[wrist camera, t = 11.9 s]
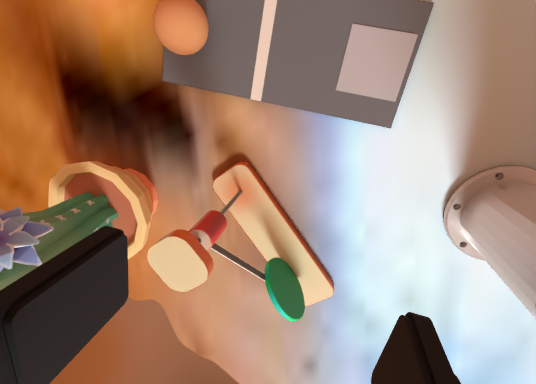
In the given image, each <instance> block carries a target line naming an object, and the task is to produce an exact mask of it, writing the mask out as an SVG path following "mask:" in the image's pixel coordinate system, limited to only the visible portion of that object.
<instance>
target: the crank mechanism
mask: <svg viewBox="0 0 536 384" xmlns="http://www.w3.org/2000/svg"><path fill="white" fill-rule="evenodd" d="M213 189H214V191H215V193H216V194H217V195H218V197H219V198H220V199H221V201H222V202H223V203H224V205H225V207H224V208H223V210H222V211H221V212H218V211H215V210H214V211H209V212H207V213H206V214H205V215H204V216H203V217H202V218H201V219H200V220H199V221H198V222H197V223H196V224H195V225H194V226H193V227H192V229H191V230H190V231H189V232H188V231H186V230H175V231H172V232H171V233H169V234H168V235H166V236H164V237H163V238H161V239H160V240H159V241H158V242H157V243H156V244H154V245H153V246H152V247H151V248H150V249H149V251H148V261H149V264H150V265H151V267H152V268H153V269H154V270H155V272H156V273H157V274H158V275H159V276H160V278H161V279H162V280H163V281H164V282H165V283H166V284H167V285H168V286H169V287H170V288H172V289H173V290H176V291H179V292H185V291H189V290H191V289H193V288H195V287H197V286H199V285H201V284H202V283H204V282H205V281H206V279H207V278H208V276H209V275H210V273H211V271H212V269H213V260H212V258H211V256H210V255H209V253H208V252H207V251H208V250H209V249H210V248H211V249H212V250H214V251H216V252H217V253H219V254H221V255H222V256H224V257H226V258H227V259H229V260H231V261H232V262H234V263H236V264H237V265H239V266H240V267H242V268H244V269H245V270H247V271H249V272H250V273H252V274H254V275H255V276H257V277H259V278H260V279H262V280H264V281H265V283H266V287H267V291H268V293H269V296H270V298H271V301H272V303H273V304H274V306H275V308H276V309H277V311H278V312H279V313H280V314H281V315H282V316H283V317H284V318H285V319H287V320H289V321H297V320H299V319H301V318H302V316H303V314H304V309H305V306H308V305H311V304H314V303H317V302H319V301H322V300H324V299H327V298H329V297H331V296H332V295H333V293H334V283H333V281H332V280H331V278H330V277H329V276H328V274H327V273H326V271H325V270H324V268H323V267H322V266H321V264H320V263H319V261H318V260H317V258H316V257H315V256H314V254H313V253H312V251H311V250H310V249H309V247H308V246H307V244H306V243H305V241H304V240H303V239H302V237H301V236H300V234H299V233H298V231H297V230H296V229H295V227H294V226H293V224H292V223H291V221H290V220H289V219H288V217H287V216H286V214H285V213H284V211H283V210H282V209H281V207H280V206H279V204H278V203H277V202H276V200H275V199H274V197H273V196H272V194H271V193H270V192H269V190H268V189H267V187H266V186H265V184H264V183H263V182H262V180H261V179H260V177H259V176H258V174H257V173H256V172H255V170H254V169H253V167H252V166H251V165H250V164H249V163H247V162H239V163H237V164H235V165H234V166H232V167H231V168H229V169H228V170H226V171H225V172H223V173H222V174H220V175H219V176H218V177H217V178H216V179H215V180H214V181H213ZM228 210H229V211H230V213H231V214H232V215H233V217H234V218H235V219H236V221H237V222H238V223H239V225H240V226H241V227H242V229H243V230H244V231H245V233H246V234H247V235H248V237H249V238H250V240H251V241H252V242H253V244H254V245H255V246H256V248H257V249H258V250H259V252H260V253H261V254H262V256H263V257H264V258H265V260H266V261H267V264H266V267H265V275H264V274H263V273H261V272H260V271H258V270H256V269H255V268H253V267H252V266H250V265H248V264H247V263H245V262H244V261H242V260H240V259H239V258H237V257H236V256H234V255H233V254H231V253H229V252H228V251H226V250H225V249H223V248H221V247H220V246H218V245H217V244H215V242H216V240H217V239H218V238H219V236H220V235H221V233H222V232H223V231H224V229H225V228H226V225H227V222H226V218H225V217H224V214H225V213H226V212H227V211H228Z"/></svg>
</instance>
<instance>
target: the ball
mask: <svg viewBox="0 0 536 384" xmlns="http://www.w3.org/2000/svg"><path fill="white" fill-rule="evenodd" d="M153 24H154V29H155V32H156V35H157V37H158V38H159V40H160V42H161V43H162V44H163V45H164V46H165V47H166V48H167V49H168V50H170V51H172V52H174V53H176V54H179V55H190V54H194V53H196V52H198V51H199V50H200V49H201V48H202V47H203V46H204V44H205V43H206V40H207V37H208V32H209V26H208V20H207V17H206V14H205V12H204V10H203V9H202V7H201V6H200V5H199V4H198V3H197V2H196V1H195V0H161V1H160V2H159V3H158V4H157V6H156V8H155V11H154V16H153Z"/></svg>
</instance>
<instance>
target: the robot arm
mask: <svg viewBox="0 0 536 384" xmlns="http://www.w3.org/2000/svg"><path fill="white" fill-rule="evenodd" d="M496 174H497V175H496ZM495 175H496V176H495ZM454 204H456V205H454ZM453 205H454V206H453ZM444 226H445V230H446V232H447V235H448V237H449V238H450V239H451V241H452V242H453V244H454V245H455V246H456V247H457V248H458V249H459V250H461V251H462V252H464V253H465V254H467V255H469V256H471V257H474V258H477V259H480V260H484V261H486V262H487V263H488V264H489V265H490V267H491V268H492V269H493V270H494V271H495V272H496V274H497V275H498V276H499V277H500V278H501V279H502V280H503V282H504V283H505V284H506V285H507V286H508V287H509V289H510V290H511V291H512V292H513V293H514V294H515V295H516V297H517V298H518V299H519V300H520V301H521V302H522V304H523V305H524V306H525V307H526V308H527V309H528V310H529V312H530V313H531V314H532V315H533V316H534V317H535V319H536V170H534V169H531V168H527V167H522V166H504V167H496V168H493V169H489V170H486V171H483V172H481V173H479V174H476V175H474V176H473V177H471V178H470V179H468V180H467V181H465V182H464V183H463V184H462V185H461V186H459V187H458V188H457V189H456V191H455V192H454V193H453V194H452V196H451V197H450V199H449V201H448V203H447V205H446V208H445V212H444ZM127 298H128V242H127V236H126V235H124V232H123V230H121V229H117V228H114V227H110V226H103V227H101V228H100V229H98V230H96V231H95V232H93V233H92V234H90V235H88V236H87V237H85V238H84V239H82V240H80V241H79V242H77V243H76V244H74V245H72V246H71V247H69V248H68V249H66V250H64V251H63V252H61V253H60V254H58V255H56V256H55V257H53V258H51V259H50V260H48V261H47V262H45V263H43V264H42V265H40V266H39V267H37V268H35V269H34V270H32V271H31V272H29V273H27V274H26V275H24V276H23V277H21V278H19V279H18V280H16V281H15V282H13V283H11V284H10V285H8V286H7V287H5V288H3V289H2V290H0V384H49V383H50V382H51V381H52V380H53V379H54V378H55V377H56V376H57V375H58V374H59V373H60V372H61V371H62V369H64V368H65V366H66V365H67V364H68V363H69V362H70V361H71V360H72V359H73V358H74V357H75V356H76V355H77V354H78V353H79V352H80V350H82V348H83V347H84V346H85V345H86V344H87V343H88V342H89V341H90V340H91V339H92V338H93V337H94V336H95V335H96V334H97V333H98V331H99V330H100V329H101V328H102V327H103V326H104V325H105V324H106V323H107V322H108V321H109V320H110V319H111V318H112V317H113V316H114V314H115V313H116V312H117V311H118V310H119V309H120V308H121V307H122V306H123V305H124V303H125V302H126V300H127ZM371 384H461V383H460V381H459V379H458V378H457V376H456V375H455V374H454V373H453V371H452V368H451V366H450V363H449V361H448V359H447V356H446V354H445V352H444V349H443V347H442V344H441V342H440V340H439V337H438V335H437V333H436V330H435V328H434V325H433V323H432V321H431V319H430V318H428V317H425V316H422V315H418V314H415V313H411V312H408V313H407V314H406V315H405V316H404V315H401V316H400V317H399V318H398V320H397V322H396V325H395V327H394V329H393V331H392V333H391V335H390V337H389V339H388V341H387V343H386V345H385V347H384V350H383V352H382V354H381V356H380V358H379V360H378V362H377V364H376V366H375V368H374V370H373V373H372V378H371Z"/></svg>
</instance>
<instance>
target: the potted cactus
mask: <svg viewBox="0 0 536 384" xmlns="http://www.w3.org/2000/svg"><path fill="white" fill-rule="evenodd" d="M157 204H158V196H157V193H156V190H155V187H154V185H153V184H152V183H151V181H150V180H149V179H148V178H147V177H146V176H145V175H144V174H142V173H140V172H138V171H136V170H133V169H131V168H129V169H120V168H118V167H116V166H108V165H105V164H103V163H101V162H99V161H87V162H80V163H72V164H65V165H63V166H62V167H61V168H60V169H59V171H58V172H57V173H56V174H55V175H54V176H53V178H52V179H51V180H50V181H49V202H48V206H49V208H47V209H45V210H43V211H38V212H29V213H22V208H20V207H18V208H15V209H12V210H9V211H6V212H4V213H2V214H0V290H2V289H3V288H5V287H7V286H8V285H10V284H11V283H13V282H15V281H16V280H18V279H19V278H21V277H23V276H24V275H26V274H27V273H29V272H31V271H32V270H34V269H35V268H37V267H39V266H40V265H42V264H43V263H45V262H47V261H48V260H50V259H51V258H53V257H55V256H56V255H58V254H60V253H61V252H63V251H64V250H66V249H68V248H69V247H71V246H72V245H74V244H76V243H77V242H79V241H80V240H82V239H84V238H85V237H87V236H88V235H90V234H92V233H93V232H95V231H96V230H98V229H100V228H101V227H103V226H110V227H114V228H117V229H121V230H123V232H124V235H126V236H127V242H128V259H129V258H131V257H132V256H133V255H135V254H136V253H137V252H138V251H140V250H141V249H142V248H143V246H144V245H145V243H146V242H147V237H148V233H149V228H150V224H151V220H152V215H153V213H154V212H156V208H157Z"/></svg>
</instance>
